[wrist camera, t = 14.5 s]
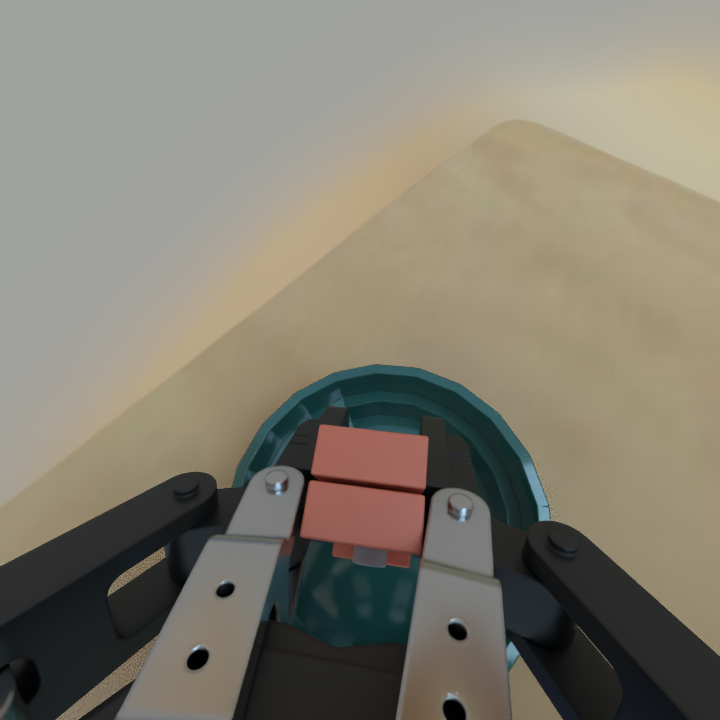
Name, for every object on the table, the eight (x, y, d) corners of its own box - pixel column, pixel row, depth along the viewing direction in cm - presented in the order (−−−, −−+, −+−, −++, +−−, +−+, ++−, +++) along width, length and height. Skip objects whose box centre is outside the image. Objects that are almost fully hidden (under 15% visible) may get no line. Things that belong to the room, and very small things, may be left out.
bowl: (510, 411, 21) (540, 377, 17) (520, 702, 16) (569, 765, 12) (291, 390, 23) (266, 354, 19) (234, 645, 18) (179, 682, 13)
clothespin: (412, 473, 16) (430, 411, 8) (406, 563, 14) (420, 590, 7) (356, 466, 16) (323, 400, 9) (344, 554, 15) (291, 569, 7)
